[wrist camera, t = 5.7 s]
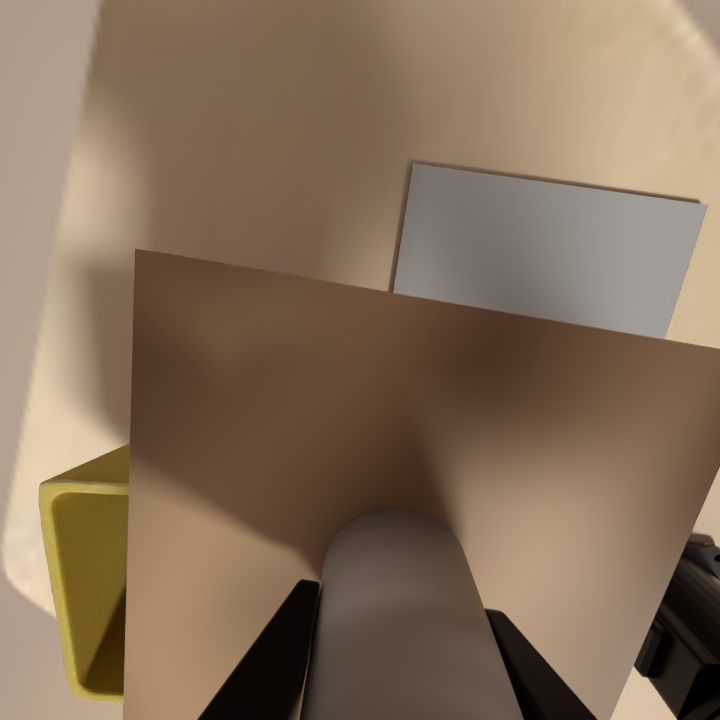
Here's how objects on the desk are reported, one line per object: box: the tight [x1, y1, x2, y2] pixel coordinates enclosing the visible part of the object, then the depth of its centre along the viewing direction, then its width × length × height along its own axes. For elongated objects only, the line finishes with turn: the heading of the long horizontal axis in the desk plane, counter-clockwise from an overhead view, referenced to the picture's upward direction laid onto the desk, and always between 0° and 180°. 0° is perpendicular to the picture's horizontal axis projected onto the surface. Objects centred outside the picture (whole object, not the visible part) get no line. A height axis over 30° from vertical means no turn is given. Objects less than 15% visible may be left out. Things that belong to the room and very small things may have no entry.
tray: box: [393, 163, 708, 339], centre depth 18 cm, size 14×14×1 cm
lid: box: [123, 249, 720, 720], centre depth 6 cm, size 12×12×5 cm
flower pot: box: [39, 444, 130, 703], centre depth 16 cm, size 9×9×9 cm
